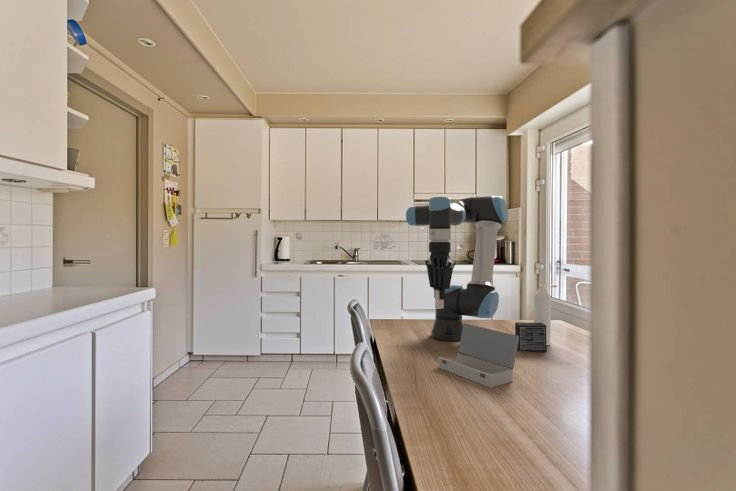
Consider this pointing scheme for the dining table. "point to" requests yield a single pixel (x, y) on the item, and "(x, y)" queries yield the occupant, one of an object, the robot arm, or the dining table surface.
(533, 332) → the small box
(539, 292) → the water bottle
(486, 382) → the hinged pencil case
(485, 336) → the cover
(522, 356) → the dining table surface
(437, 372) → the dining table surface
